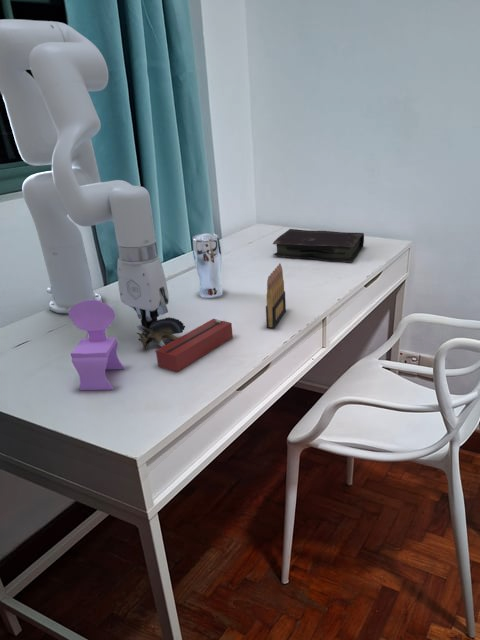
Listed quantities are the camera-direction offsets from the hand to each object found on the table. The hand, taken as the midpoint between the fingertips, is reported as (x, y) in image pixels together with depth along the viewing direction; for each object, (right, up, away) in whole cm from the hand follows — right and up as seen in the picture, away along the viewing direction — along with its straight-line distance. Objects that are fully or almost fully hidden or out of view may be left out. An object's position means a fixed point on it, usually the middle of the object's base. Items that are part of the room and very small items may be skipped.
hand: (151, 334), depth 117 cm
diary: (+40, +31, +54) cm, 74 cm away
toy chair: (-5, -10, -15) cm, 19 cm away
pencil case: (+11, -4, -5) cm, 13 cm away
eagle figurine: (+3, -3, -3) cm, 5 cm away
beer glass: (+10, +13, +24) cm, 29 cm away
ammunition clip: (+27, +4, +8) cm, 29 cm away
